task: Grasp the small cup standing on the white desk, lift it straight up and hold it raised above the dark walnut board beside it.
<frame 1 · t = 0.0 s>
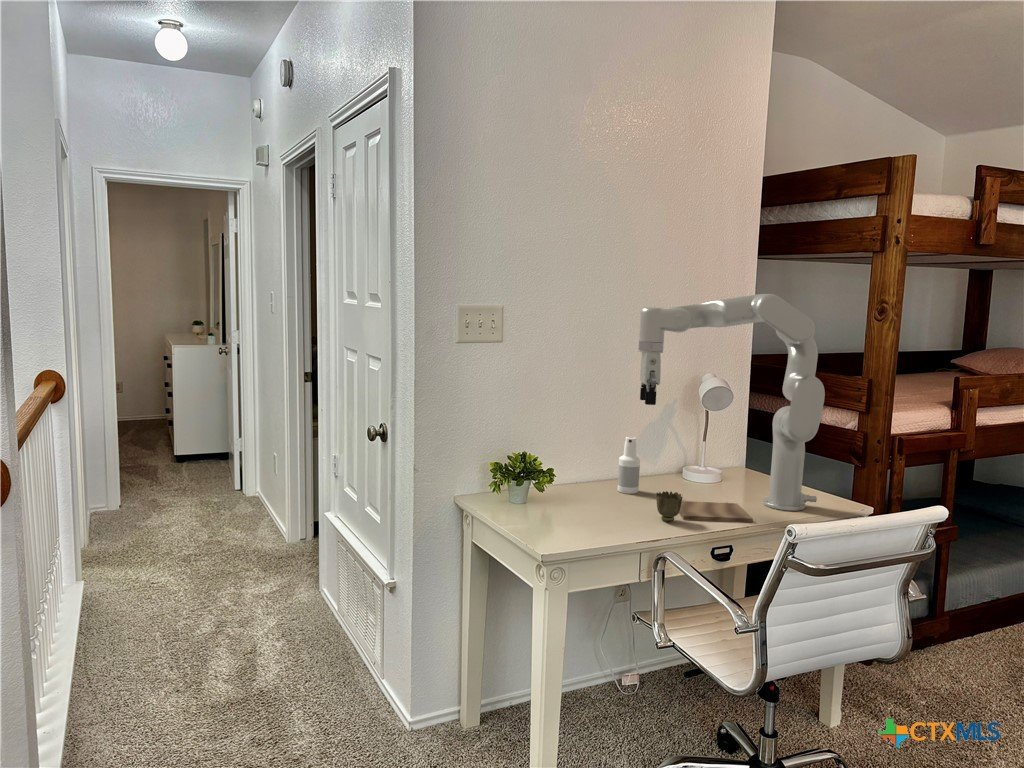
hand: (647, 402, 237), 31 cm above the table, tool pointing down, fingers open, 9 cm apart
spray bottle: (627, 492, 251), on the table
walnut board: (711, 513, 229), on the table
cup: (667, 521, 219), on the table
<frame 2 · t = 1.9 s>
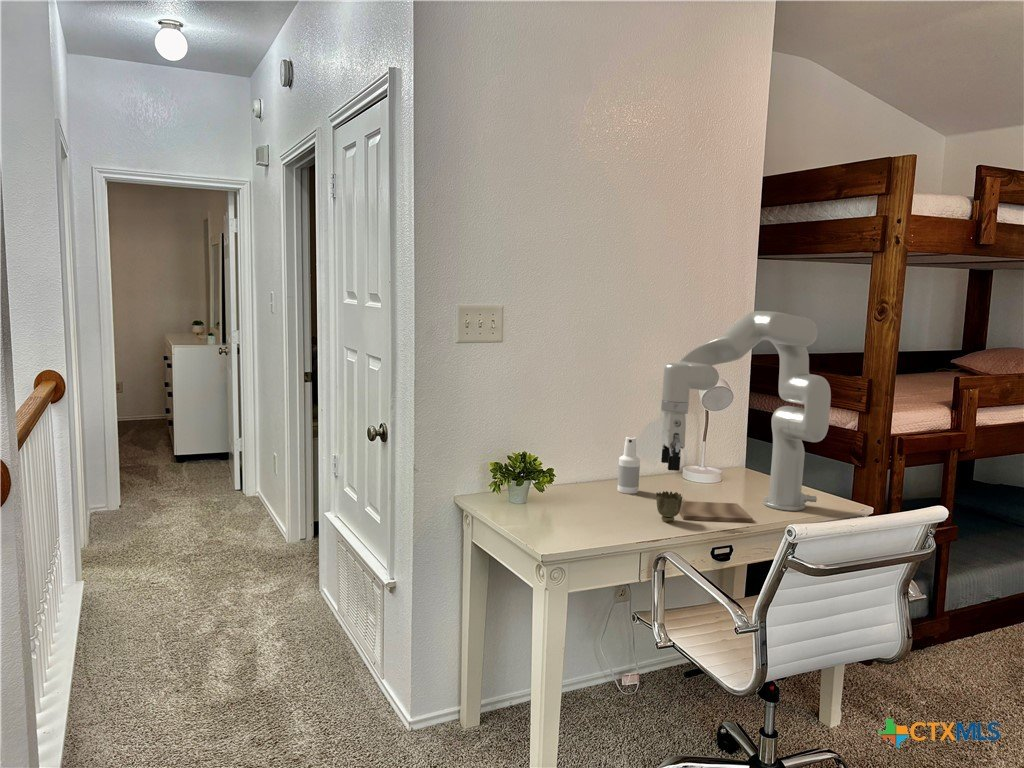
hand: (670, 466, 217), 16 cm above the table, tool pointing down, fingers open, 9 cm apart
nothing on the table moved.
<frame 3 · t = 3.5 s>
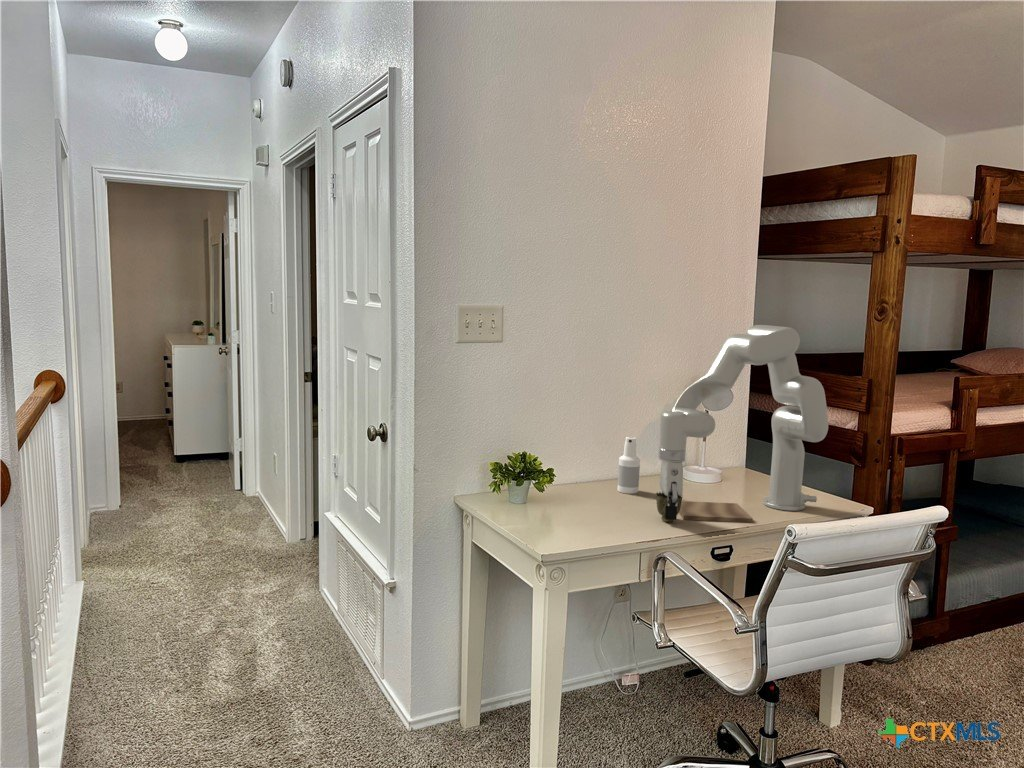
hand: (668, 515, 219), 2 cm above the table, tool pointing down, fingers closed on cup, 6 cm apart
cup: (667, 521, 219), on the table, touching gripper
everything else where it was.
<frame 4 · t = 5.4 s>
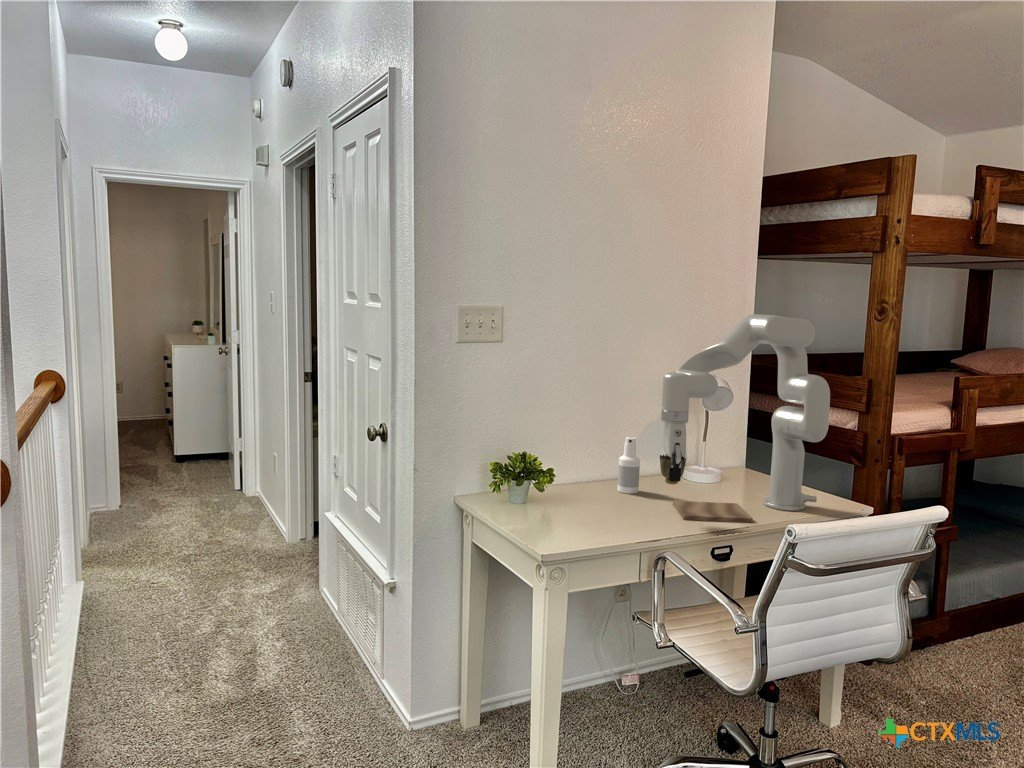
hand: (671, 477, 217), 13 cm above the table, tool pointing down, fingers closed on cup, 6 cm apart
cup: (671, 484, 218), point 11 cm above the table, touching gripper
everything else where it was.
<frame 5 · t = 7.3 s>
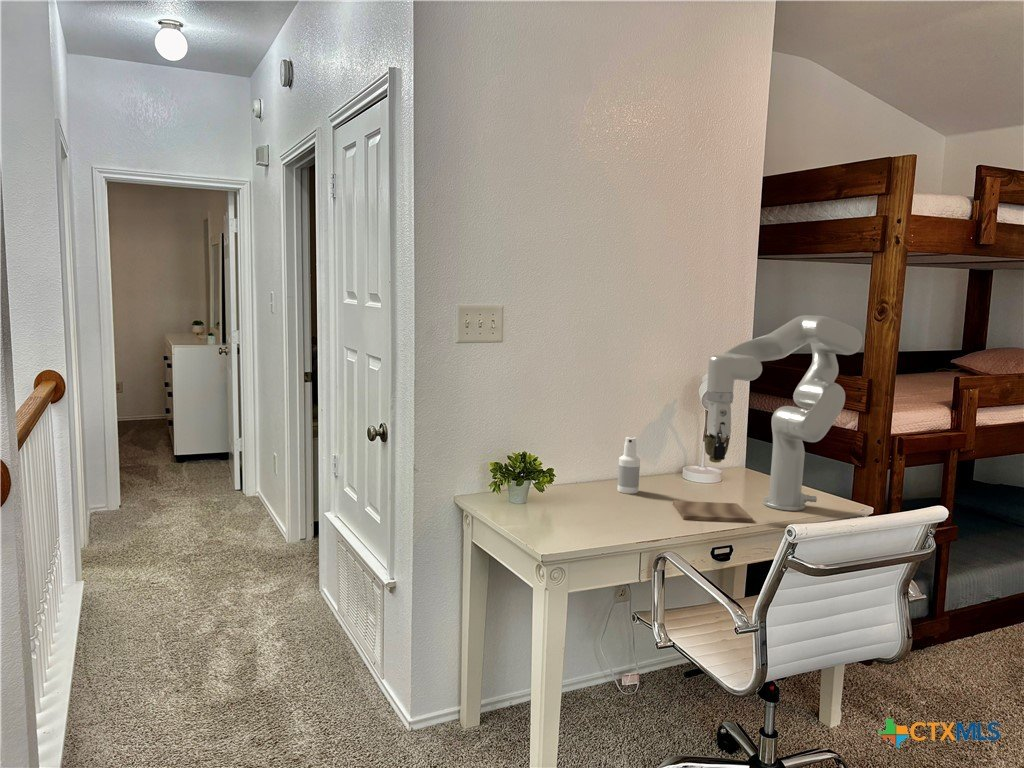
hand: (715, 456, 227), 17 cm above the table, tool pointing down, fingers closed on cup, 6 cm apart
cup: (715, 462, 227), point 16 cm above the table, touching gripper
everything else where it was.
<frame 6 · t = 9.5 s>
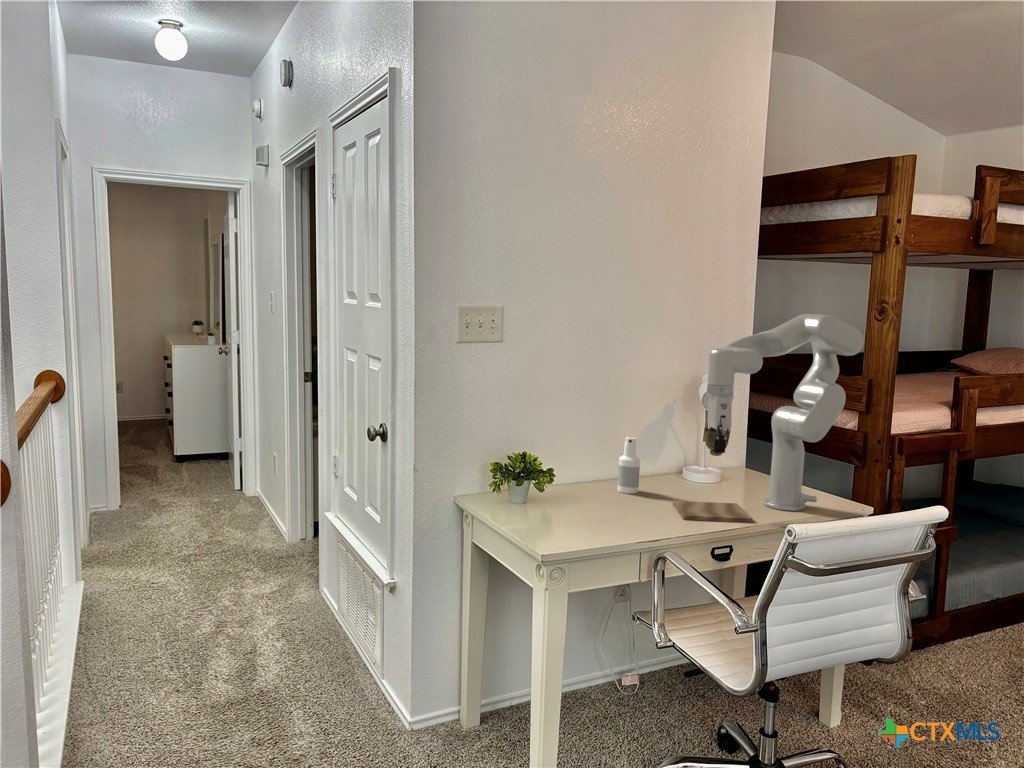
hand: (716, 449, 226), 20 cm above the table, tool pointing down, fingers closed on cup, 6 cm apart
cup: (715, 455, 227), point 18 cm above the table, touching gripper
everything else where it was.
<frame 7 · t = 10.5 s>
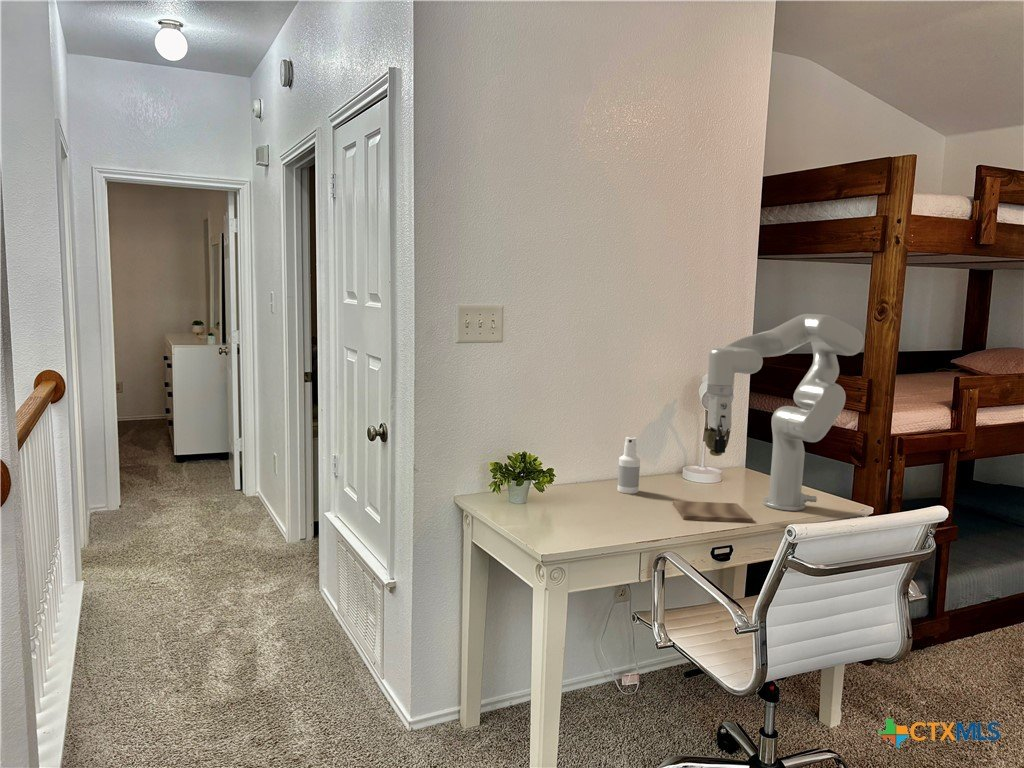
hand: (716, 449, 226), 20 cm above the table, tool pointing down, fingers closed on cup, 6 cm apart
cup: (715, 455, 227), point 18 cm above the table, touching gripper
everything else where it was.
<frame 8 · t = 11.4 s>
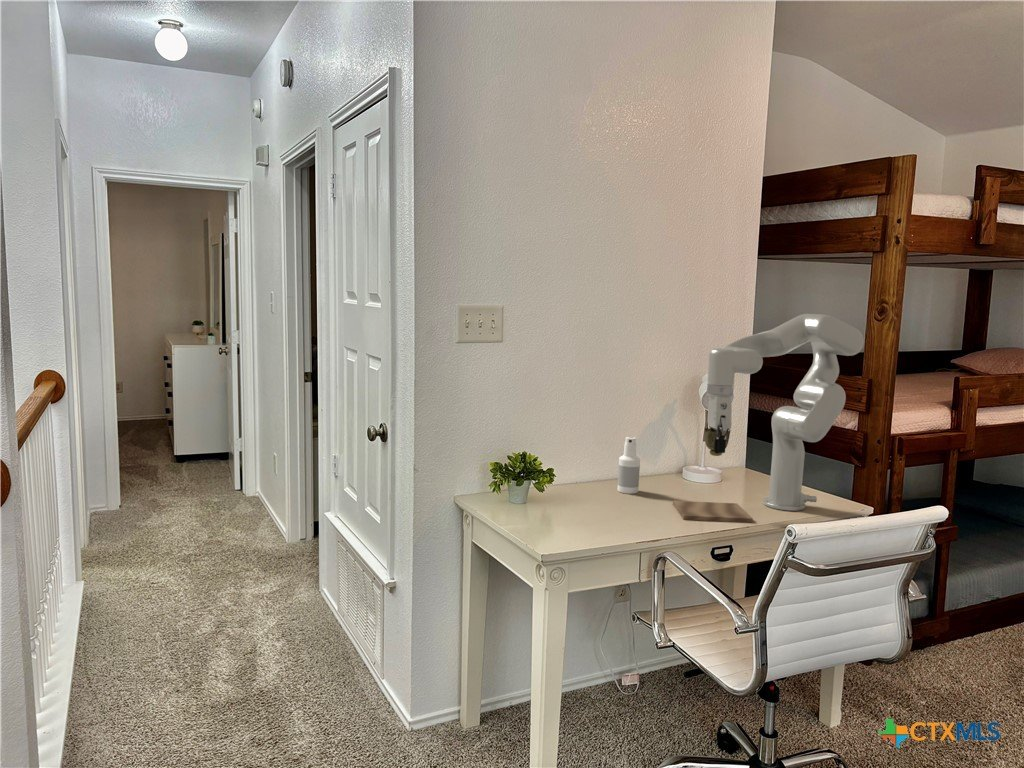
hand: (716, 449, 226), 20 cm above the table, tool pointing down, fingers closed on cup, 6 cm apart
cup: (715, 455, 227), point 18 cm above the table, touching gripper
everything else where it was.
at the end: the gripper is holding cup; cup point 17.6 cm above the table; cup inside the target area (0.1 cm from its centre), point 17.6 cm above the table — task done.
